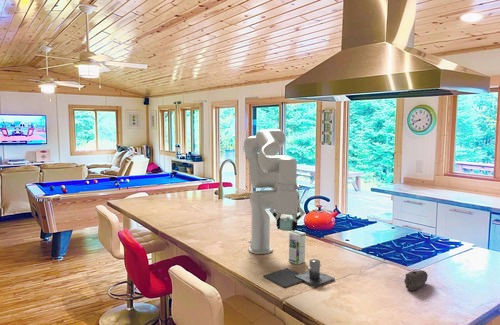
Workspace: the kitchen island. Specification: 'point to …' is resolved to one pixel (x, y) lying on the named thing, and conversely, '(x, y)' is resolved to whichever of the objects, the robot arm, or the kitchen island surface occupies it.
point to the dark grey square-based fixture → (314, 275)
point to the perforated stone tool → (415, 279)
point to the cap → (286, 224)
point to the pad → (283, 277)
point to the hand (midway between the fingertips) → (286, 228)
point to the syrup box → (296, 247)
